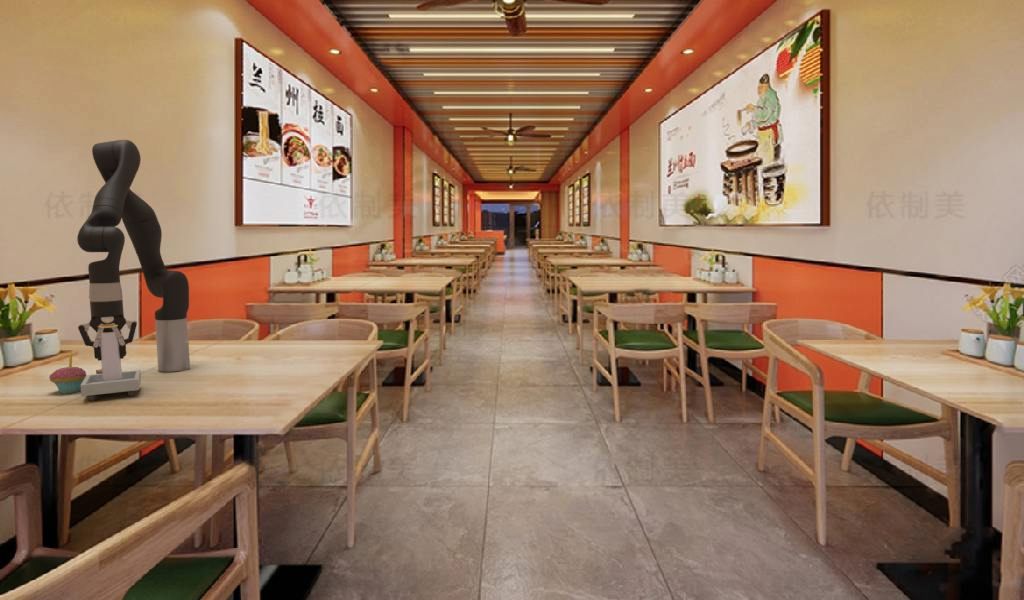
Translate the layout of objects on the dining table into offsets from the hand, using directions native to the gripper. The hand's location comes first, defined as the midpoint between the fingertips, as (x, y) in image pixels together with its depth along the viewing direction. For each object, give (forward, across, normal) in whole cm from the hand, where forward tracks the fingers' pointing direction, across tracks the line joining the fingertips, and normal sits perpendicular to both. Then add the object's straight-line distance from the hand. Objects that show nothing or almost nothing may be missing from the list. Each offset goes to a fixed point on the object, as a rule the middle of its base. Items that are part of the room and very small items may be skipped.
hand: (110, 358), depth 165 cm
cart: (+10, 0, 0) cm, 10 cm away
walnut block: (+10, +3, -17) cm, 21 cm away
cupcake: (+11, +11, -10) cm, 18 cm away
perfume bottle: (+7, 0, 0) cm, 7 cm away
